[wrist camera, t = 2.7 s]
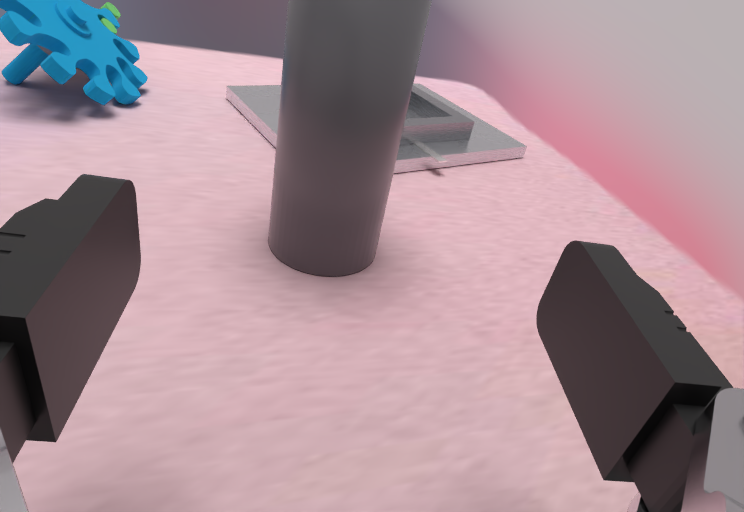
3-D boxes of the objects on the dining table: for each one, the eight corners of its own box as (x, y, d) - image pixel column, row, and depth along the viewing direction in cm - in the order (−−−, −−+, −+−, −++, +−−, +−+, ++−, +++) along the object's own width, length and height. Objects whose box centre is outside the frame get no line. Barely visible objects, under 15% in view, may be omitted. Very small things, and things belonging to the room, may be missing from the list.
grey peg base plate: (318, 190, 26) (323, 154, 25) (226, 98, 35) (227, 67, 34) (531, 162, 35) (542, 134, 34) (417, 93, 43) (423, 68, 42)
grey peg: (298, 286, 20) (350, -113, 13) (251, 223, 23) (272, -130, 16) (395, 263, 22) (483, -83, 15) (342, 209, 25) (394, -103, 18)
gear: (102, 107, 26) (-71, -91, 23) (24, 171, 28) (-147, -4, 24) (182, 77, 36) (71, -63, 33) (122, 126, 38) (10, -3, 34)
